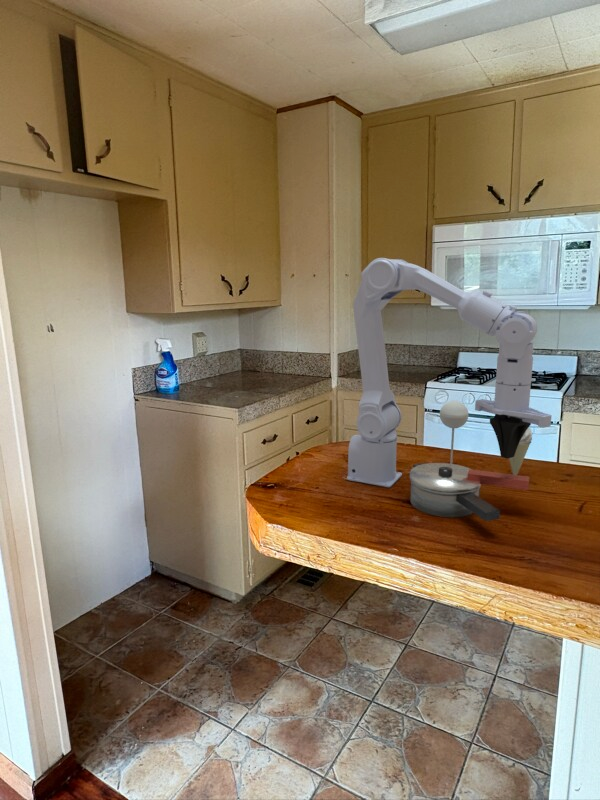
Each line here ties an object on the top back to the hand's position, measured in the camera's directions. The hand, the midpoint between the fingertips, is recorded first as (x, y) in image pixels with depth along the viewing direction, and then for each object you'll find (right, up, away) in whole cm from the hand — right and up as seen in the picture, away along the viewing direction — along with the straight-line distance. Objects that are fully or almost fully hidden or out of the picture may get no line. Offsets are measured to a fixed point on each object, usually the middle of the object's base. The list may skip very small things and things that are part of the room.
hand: (507, 456), depth 95 cm
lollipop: (-5, -5, +20) cm, 21 cm away
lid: (-7, -4, -1) cm, 9 cm away
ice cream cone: (+7, -6, +14) cm, 16 cm away
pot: (-10, -9, 0) cm, 14 cm away
